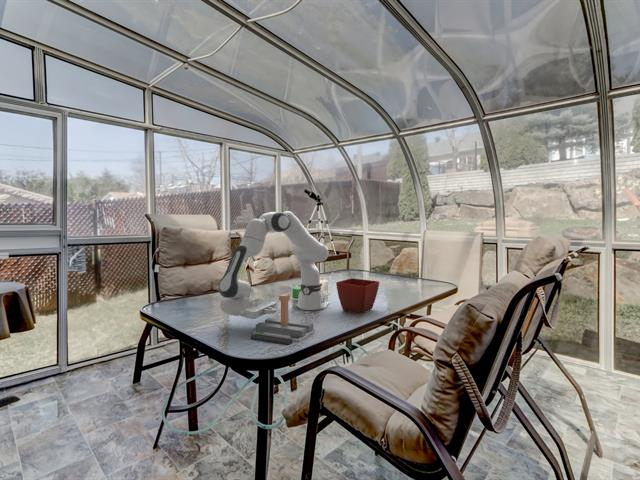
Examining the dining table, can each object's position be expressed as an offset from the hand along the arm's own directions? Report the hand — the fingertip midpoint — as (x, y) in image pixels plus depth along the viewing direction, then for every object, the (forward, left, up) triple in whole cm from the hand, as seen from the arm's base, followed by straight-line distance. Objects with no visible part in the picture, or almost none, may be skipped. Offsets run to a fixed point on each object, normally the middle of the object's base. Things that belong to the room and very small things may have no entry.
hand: (275, 311), depth 164 cm
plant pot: (-52, +25, -10) cm, 59 cm away
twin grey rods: (+12, +5, -9) cm, 16 cm away
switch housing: (0, +5, -9) cm, 11 cm away
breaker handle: (0, +5, -8) cm, 10 cm away
